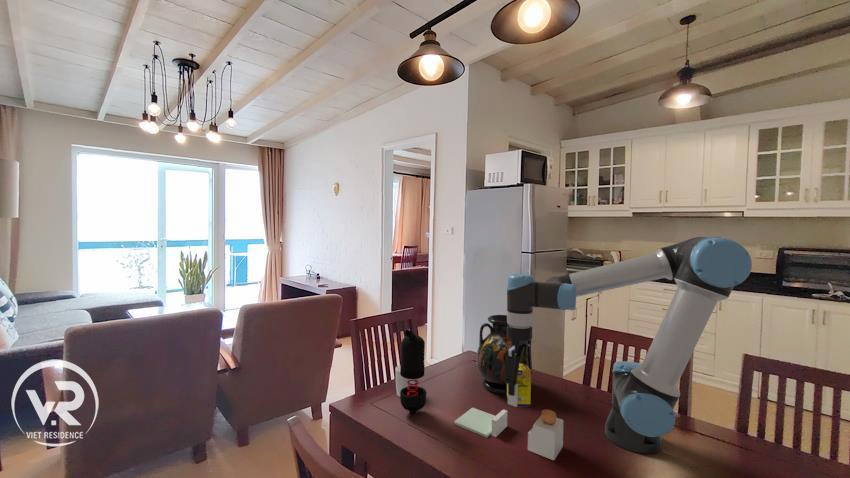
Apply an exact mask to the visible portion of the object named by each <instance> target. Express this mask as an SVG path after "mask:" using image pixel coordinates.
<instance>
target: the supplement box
mask: <svg viewBox="0 0 850 478" xmlns="http://www.w3.org/2000/svg"><path fill="white" fill-rule="evenodd" d="M531 371H532V370H530V369H529V367H528V366H527V365H526V364H523V363H520V364H519V370H518V376H517V381H516V384H518V397H517V407H532V406H531V405H532V404H531V403H532V401H531V396H532V395H531V394H532V393H531V391H532V386H531V385H532V374H531ZM506 399H507V400H508V384H507V395H506ZM510 407H513V406H512V405H510Z"/></svg>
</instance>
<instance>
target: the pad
mask: <svg viewBox="0 0 850 478" xmlns="http://www.w3.org/2000/svg"><path fill="white" fill-rule="evenodd" d="M495 416H496V415H494V414H491V413H488V412H486V411H482V410H480V409H478V408H475V407H471V408H470V409H469V410H467V411H466V412H464V413H463V414H461V415H460V416H459V417H458V418H456V419H455V420H454V421H453V425H454V426H457V427H460V428H463V429H464V430H467V431H470V432H472V433H475V434H477V435H479V436H481V437H484V438H486V439H487V438H489V437H490V436H491V433H492V419H493V418H494V417H495Z"/></svg>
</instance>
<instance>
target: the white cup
mask: <svg viewBox="0 0 850 478" xmlns="http://www.w3.org/2000/svg"><path fill="white" fill-rule="evenodd" d="M400 365H401V364H399V365H397V366H395V370H394V371H395V389H396V396H397V397H399V398H400V391H401V390H402V389H403V388H405V387H408V383H407V381H409V380H415V379H406V378H404V377H402V376H401V375H400V371H401V370H400ZM409 383H411V384H415V381H410V382H409ZM409 386H410V385H409Z"/></svg>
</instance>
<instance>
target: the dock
mask: <svg viewBox="0 0 850 478" xmlns="http://www.w3.org/2000/svg"><path fill="white" fill-rule="evenodd" d="M494 416H495V417H494V418H493V419H492V433H491V434H490V436H492V437H494V438H497V437H498V436H499V435H500V434H501V433H502V432H503V431H504V430H505V429H506V428H507V427H508V410H506V409H502V410H501V411H499V412H498V413H497V414H496V415H494ZM563 447H564V419H561V418H559V417H556V422H555V423H553V424H551V425H549V424H546V422H544V421H542V419H541V415H540V416H539V418H537V419H536V421H535V422H534V423H533V425H532V428H531V429H530V430H529V431H528V432H527V451H529V452H531V453H533V454H537V455H538V456H541V457H544V458H547V459H549V460H551V461H556V459H557V457H558V455H559V454H560V452H561V450H562V449H563Z"/></svg>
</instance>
